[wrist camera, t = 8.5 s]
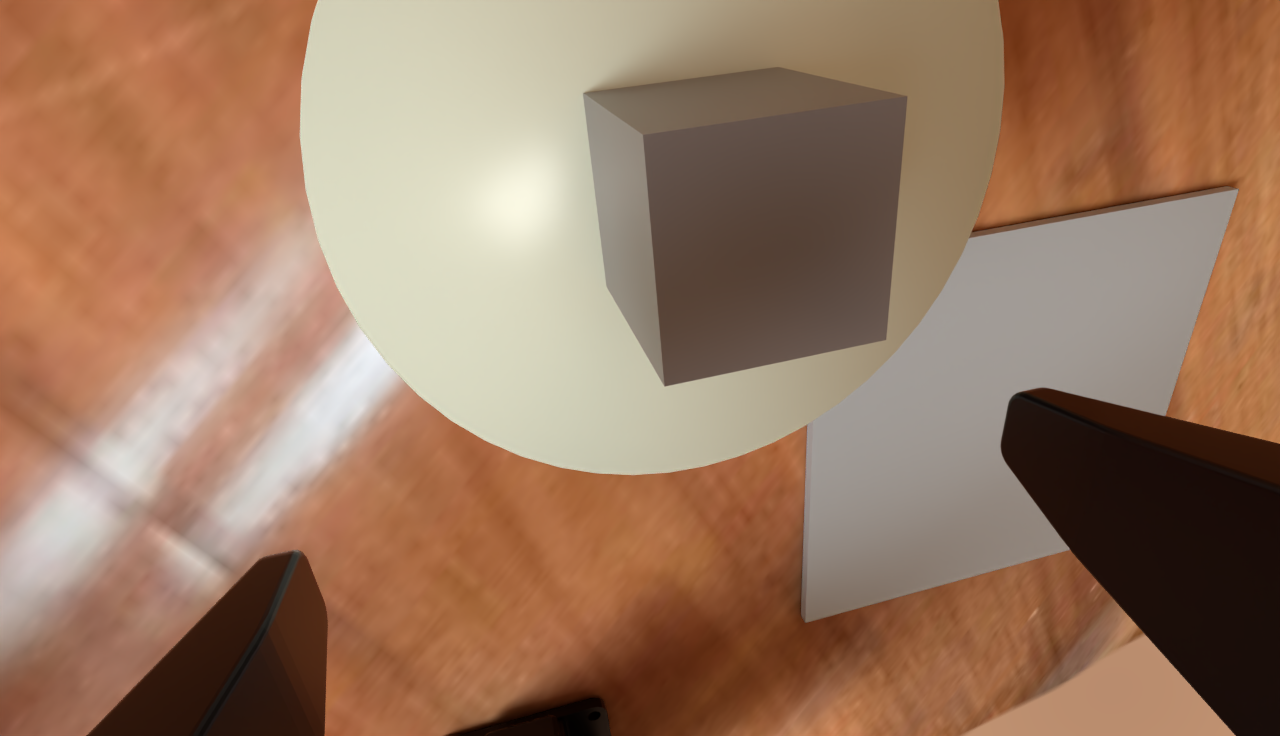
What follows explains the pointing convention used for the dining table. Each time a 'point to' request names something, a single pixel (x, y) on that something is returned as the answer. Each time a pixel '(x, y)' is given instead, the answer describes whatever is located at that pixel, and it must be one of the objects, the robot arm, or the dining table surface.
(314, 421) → the dining table surface
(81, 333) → the dining table surface
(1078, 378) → the mat
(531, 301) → the cover
